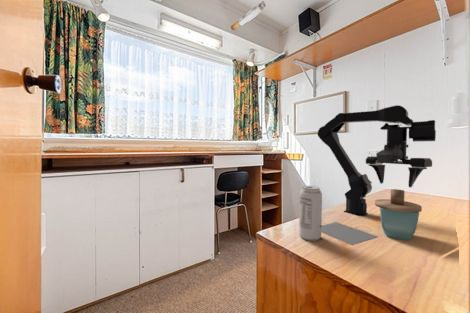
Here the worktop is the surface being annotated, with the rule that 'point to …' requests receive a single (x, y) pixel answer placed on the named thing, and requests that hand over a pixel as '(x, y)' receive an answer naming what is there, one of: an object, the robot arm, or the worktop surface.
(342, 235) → the mat
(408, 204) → the lid
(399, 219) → the flower pot
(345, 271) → the worktop surface
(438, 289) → the worktop surface
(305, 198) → the energy drink can
